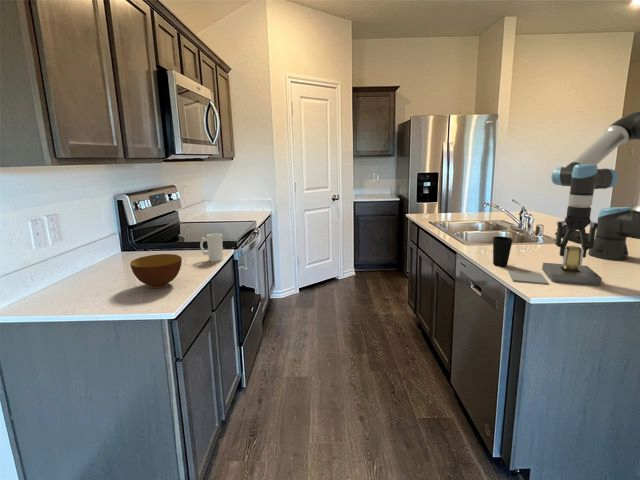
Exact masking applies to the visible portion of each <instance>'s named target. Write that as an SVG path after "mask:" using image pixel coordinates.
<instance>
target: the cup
mask: <svg viewBox="0 0 640 480" xmlns="http://www.w3.org/2000/svg"><path fill="white" fill-rule="evenodd" d="M513 241H514V240H513V238H511V237H508V236H498V235H497V236H493V237H492V265H493V264H494V265H495V267H498V266H500V267H499V268H506V267H508V262H509V258H510V252H511V249H512V244H513ZM494 265H493V266H494Z"/></svg>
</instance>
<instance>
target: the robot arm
mask: <svg viewBox="0 0 640 480" xmlns="http://www.w3.org/2000/svg"><path fill="white" fill-rule="evenodd" d="M634 140H640V110H638V111H634V112H631V113H629V114H627V115H624V116H622V117H621V118H619V119H617V120H616V121H614V122H613V123H612V124H611V125H608V127H606V129H605V130H604V131H603V134H602V135H601V136H600V137H599V138H597V139H596V140H595V141H594V142H593V143H592V144H591V145H589V146H588V147H587V148H586V149H585V150H584V151H582V153H580V154H579V155H578V156H577V157H575V158H574V159H573V160H572V161H571V162H570V163H568V164H567V165H566V166H560V167H559V166H558V167H556V168H554V169H553V170H552V173H551V182H552V184H554V185H556V186H562V187H570V189H569V194H568V195H569V196H568V203H567V204H568V206H567V209H566V216H565V218H564V219H563V220H557V221H556V226H557V228H556V232H557V235H555V237H556V238H555V244H554V245H555V246H556V247H558V248H560V249H559V256H560V257H561V262H560V264H562V265H565V263H566V256H567V248H566V246H568V243H569V242H570V241H569V238H570V236H571V234H572V232H573V230H576V231H579V232H580V238H581V244H580V245H581V247H580V248H581V252H580V258H579V265H578V266H582V264H583V258H584V259H585V258H586V257H587V253H588V255H589V256H591V257H594V258H598V259H603V260H609V261H610V260H613V261H624V260H623V259H626V260H628V259H629V251H628V245H627V238H629V239H635V240H640V193H639V194H638V202H637V205H636V206H635V207H629V206H619V207H618V206H616V207H614V206H613V207H602V208H601V209H600V210H599V213H598V216H597V222H596V221H591V214H592V213H591V212H592V207H591V206H592V205H593V199H594V192H595V190H599V189H601V190H602V189H603V190H606V189H611V188H612V187H614V186H616V184H617V183H618V182H619V181H618V180H619V174H618V173H617V171H616V170H615V169H612V168H605V167H604V168H598V164H599V163H601V162H602V161H603V160H604V159H605V158H606V157H608V155H610V154H611V153H612V152H613V151H614V150H616V149H617V148H618V147H619V146H623V145H625V144H626V143H627V142H629V141H630V142H631V141H634ZM564 224H566V225H567V226H568V228H567V231H566V233H565V236H564V238H562V231H563V226H564ZM588 226H589V232H588V233H589V238H588V244H587V241H586V234H585V233H586V228H587V227H588ZM587 251H588V252H587ZM627 258H628V259H627Z"/></svg>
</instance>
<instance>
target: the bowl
mask: <svg viewBox="0 0 640 480" xmlns="http://www.w3.org/2000/svg"><path fill="white" fill-rule="evenodd" d="M182 260H183V259H182V256H180V255H178V254H172V253H160V254H159V253H157V254H150V255H146V256H145V255H144V256H141V257H137V258H135V259H133V260H131V262H130V264H129V265H130V268H131V272H132V273H133V275H134V276H135V277H136V279H137V280H138V281H139V282H141V283H142V284H143V285H147V286H150V288H151V289H162V288H166V287H168V285H169V283H172V281H174V279H176V277H177V276H178V274H179V272H180V271H181V268H182Z"/></svg>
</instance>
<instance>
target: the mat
mask: <svg viewBox="0 0 640 480" xmlns="http://www.w3.org/2000/svg"><path fill="white" fill-rule="evenodd" d="M508 274H509V276H510V278H511V280H512V282H513V281H514V282H515V283H525V282H526V283H527V284H537V285H549V282H548V280H547V278H545V276H544V275H543V274H542V273H541V272H529V271H527V272H526V271H514V270H508Z"/></svg>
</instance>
